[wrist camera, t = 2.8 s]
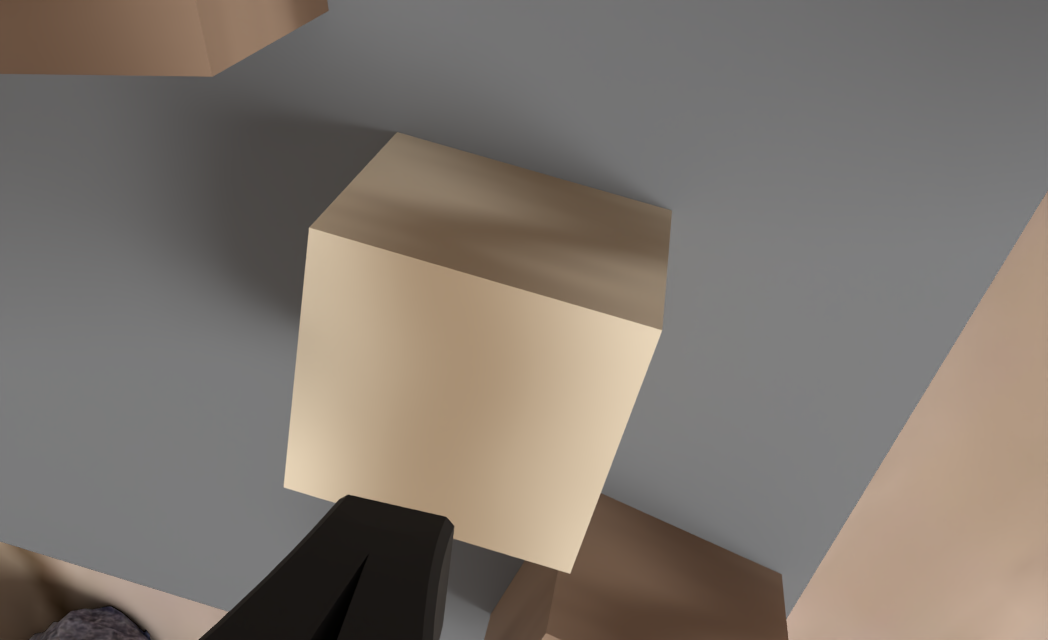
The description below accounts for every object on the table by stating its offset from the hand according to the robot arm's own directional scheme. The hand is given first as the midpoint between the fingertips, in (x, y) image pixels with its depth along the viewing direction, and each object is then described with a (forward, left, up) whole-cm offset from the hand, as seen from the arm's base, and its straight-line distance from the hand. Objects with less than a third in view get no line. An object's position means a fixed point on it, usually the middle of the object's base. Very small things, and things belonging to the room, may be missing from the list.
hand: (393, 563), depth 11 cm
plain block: (0, 0, -7) cm, 7 cm away
